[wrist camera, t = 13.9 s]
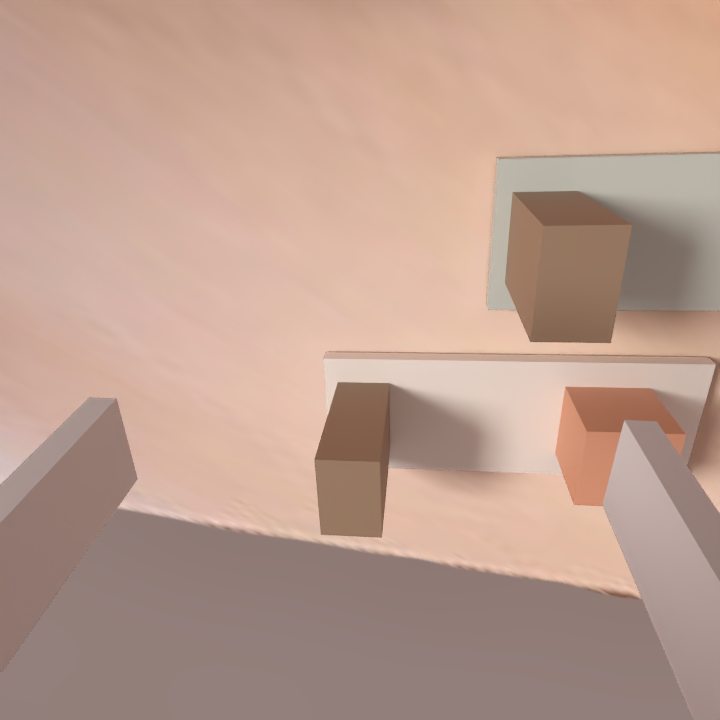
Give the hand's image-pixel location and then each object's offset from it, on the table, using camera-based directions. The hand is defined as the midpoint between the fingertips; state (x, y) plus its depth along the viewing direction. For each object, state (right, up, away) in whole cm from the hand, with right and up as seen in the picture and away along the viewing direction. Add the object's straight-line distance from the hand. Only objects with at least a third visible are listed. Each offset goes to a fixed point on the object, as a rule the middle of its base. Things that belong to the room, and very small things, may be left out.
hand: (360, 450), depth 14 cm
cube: (+18, -2, +27) cm, 32 cm away
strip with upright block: (+23, +11, +21) cm, 33 cm away
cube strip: (+11, -2, +29) cm, 31 cm away
